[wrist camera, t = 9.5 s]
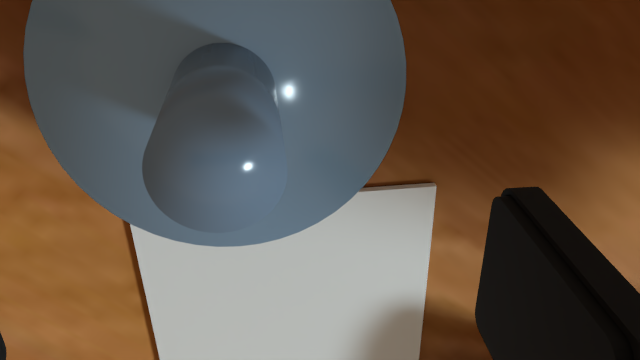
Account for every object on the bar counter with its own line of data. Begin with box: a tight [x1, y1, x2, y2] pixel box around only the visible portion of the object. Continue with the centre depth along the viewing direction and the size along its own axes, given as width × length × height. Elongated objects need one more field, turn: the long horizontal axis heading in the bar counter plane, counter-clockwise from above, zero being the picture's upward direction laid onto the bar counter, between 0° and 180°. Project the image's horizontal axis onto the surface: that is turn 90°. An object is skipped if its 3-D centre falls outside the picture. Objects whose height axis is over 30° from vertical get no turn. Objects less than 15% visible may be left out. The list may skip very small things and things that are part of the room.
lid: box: [23, 0, 406, 247], centre depth 16 cm, size 13×13×7 cm
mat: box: [130, 183, 437, 360], centre depth 32 cm, size 16×16×1 cm
